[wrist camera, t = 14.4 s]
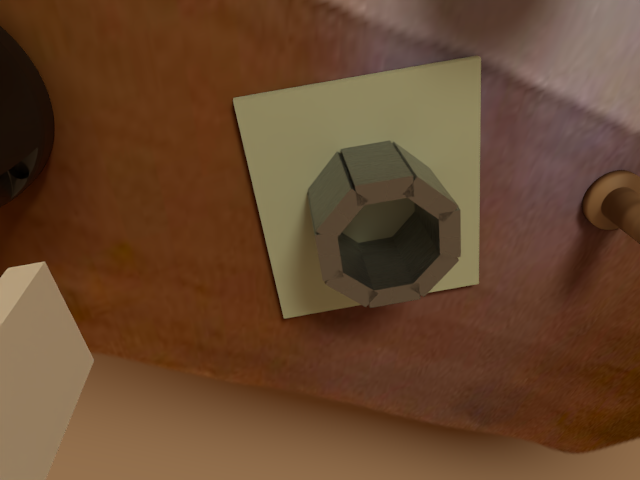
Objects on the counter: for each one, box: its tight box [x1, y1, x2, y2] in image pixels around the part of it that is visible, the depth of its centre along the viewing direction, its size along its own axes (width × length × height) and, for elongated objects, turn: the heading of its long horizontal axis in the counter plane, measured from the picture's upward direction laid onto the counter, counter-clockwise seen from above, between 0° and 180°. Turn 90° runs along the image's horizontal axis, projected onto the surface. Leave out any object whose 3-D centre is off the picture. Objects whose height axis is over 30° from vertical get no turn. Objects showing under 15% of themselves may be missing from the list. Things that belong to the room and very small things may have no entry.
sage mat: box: [233, 56, 481, 319], centre depth 42 cm, size 18×20×1 cm
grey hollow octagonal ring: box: [307, 140, 461, 308], centre depth 39 cm, size 10×10×7 cm
